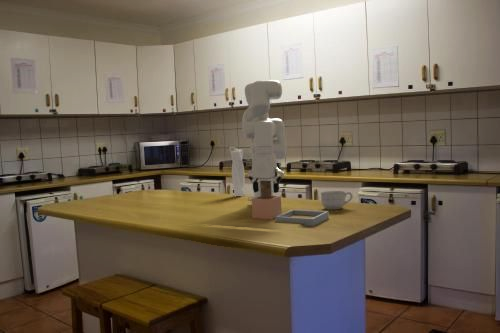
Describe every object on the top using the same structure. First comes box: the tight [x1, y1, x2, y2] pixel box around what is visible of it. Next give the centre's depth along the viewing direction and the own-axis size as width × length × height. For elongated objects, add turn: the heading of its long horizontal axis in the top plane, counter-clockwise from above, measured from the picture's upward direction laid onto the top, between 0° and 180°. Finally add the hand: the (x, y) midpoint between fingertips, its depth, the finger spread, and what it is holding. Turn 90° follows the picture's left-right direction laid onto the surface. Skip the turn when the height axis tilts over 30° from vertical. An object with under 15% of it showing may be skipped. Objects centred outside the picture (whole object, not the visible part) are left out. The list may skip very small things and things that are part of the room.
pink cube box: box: [251, 195, 283, 220], centre depth 197 cm, size 9×9×9 cm
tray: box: [274, 209, 330, 227], centre depth 189 cm, size 16×16×3 cm
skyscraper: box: [229, 146, 246, 198], centre depth 266 cm, size 8×8×28 cm
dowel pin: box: [260, 180, 272, 199], centre depth 197 cm, size 4×4×15 cm
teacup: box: [320, 190, 354, 210], centre depth 212 cm, size 14×11×8 cm
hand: (266, 192), depth 196 cm, fingers open, 9 cm apart
